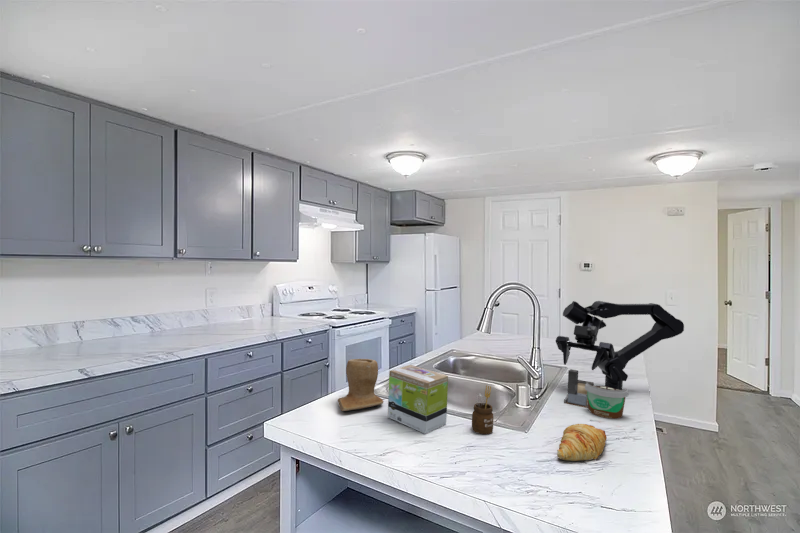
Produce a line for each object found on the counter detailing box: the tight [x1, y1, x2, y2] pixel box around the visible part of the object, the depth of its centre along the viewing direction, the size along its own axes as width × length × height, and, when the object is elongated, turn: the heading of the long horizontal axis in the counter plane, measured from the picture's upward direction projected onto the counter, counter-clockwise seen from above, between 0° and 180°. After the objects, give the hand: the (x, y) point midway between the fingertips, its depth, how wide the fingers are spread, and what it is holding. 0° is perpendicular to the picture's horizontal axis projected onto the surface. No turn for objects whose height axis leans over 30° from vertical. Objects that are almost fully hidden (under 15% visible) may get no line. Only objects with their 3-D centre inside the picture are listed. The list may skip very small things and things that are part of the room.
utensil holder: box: [471, 384, 494, 435], centre depth 114 cm, size 6×6×12 cm
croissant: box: [556, 423, 608, 462], centre depth 104 cm, size 21×10×8 cm, turn 128°
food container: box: [585, 383, 629, 420], centre depth 125 cm, size 12×6×10 cm, turn 62°
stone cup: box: [337, 358, 384, 412], centre depth 130 cm, size 15×12×15 cm
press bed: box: [563, 379, 595, 409], centre depth 140 cm, size 16×8×6 cm, turn 148°
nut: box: [577, 383, 588, 398], centre depth 142 cm, size 4×4×4 cm
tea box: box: [387, 364, 449, 435], centre depth 119 cm, size 15×10×15 cm, turn 47°
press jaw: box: [567, 368, 587, 406], centre depth 135 cm, size 3×6×10 cm, turn 58°
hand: (578, 366), depth 140 cm, fingers open, 9 cm apart
